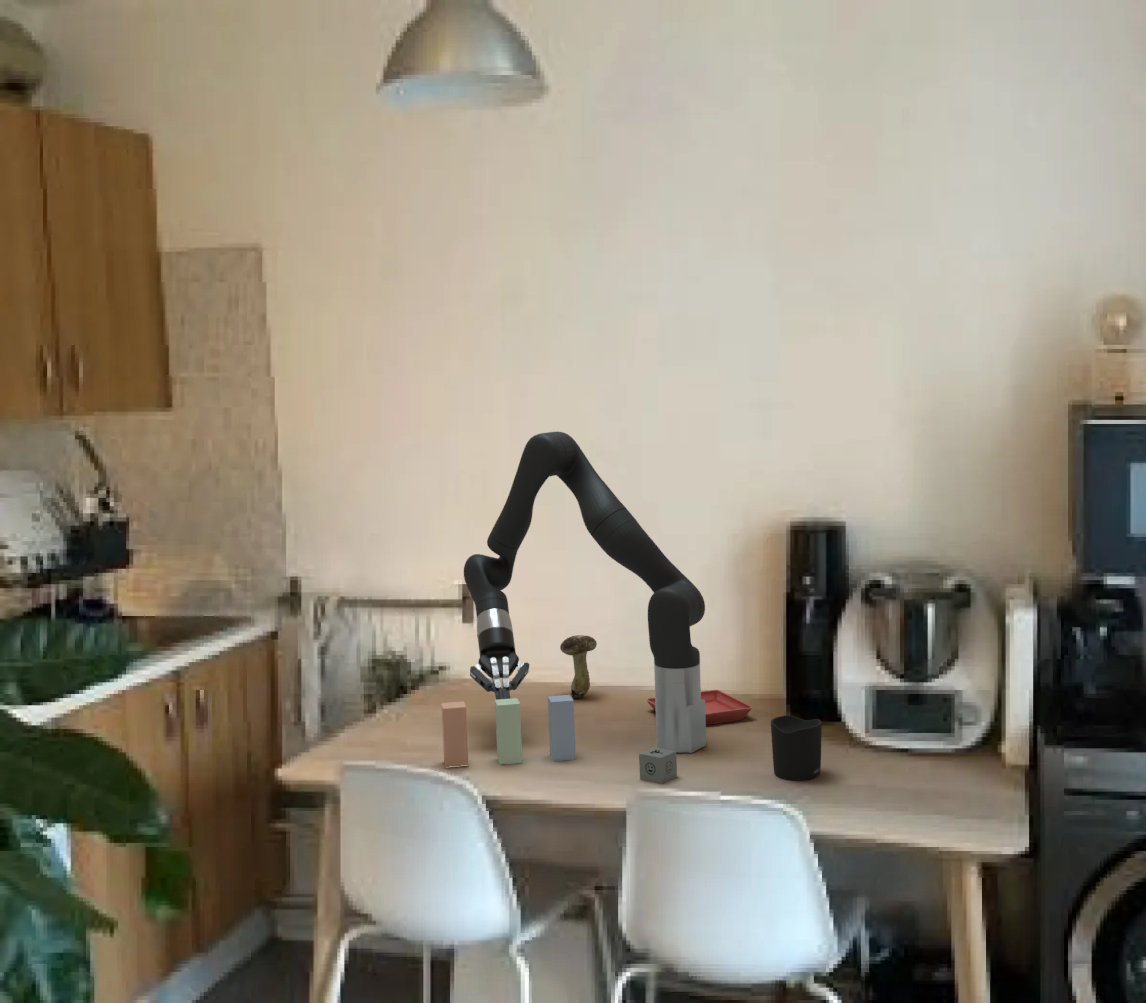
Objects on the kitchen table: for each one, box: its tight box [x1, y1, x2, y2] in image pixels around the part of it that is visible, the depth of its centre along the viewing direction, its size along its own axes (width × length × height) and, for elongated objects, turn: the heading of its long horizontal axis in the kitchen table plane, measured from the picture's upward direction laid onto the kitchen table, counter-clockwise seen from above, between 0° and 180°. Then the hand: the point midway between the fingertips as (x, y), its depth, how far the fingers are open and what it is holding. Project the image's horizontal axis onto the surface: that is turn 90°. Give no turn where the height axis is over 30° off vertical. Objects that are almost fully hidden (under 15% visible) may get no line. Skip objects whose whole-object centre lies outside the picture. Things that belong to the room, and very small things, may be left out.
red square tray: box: [646, 689, 753, 726], centre depth 283 cm, size 18×18×3 cm
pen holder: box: [770, 715, 823, 781], centre depth 240 cm, size 9×9×10 cm
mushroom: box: [559, 634, 598, 699], centre depth 300 cm, size 9×9×15 cm
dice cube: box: [638, 746, 678, 785], centre depth 241 cm, size 5×5×5 cm
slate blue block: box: [547, 694, 577, 762], centre depth 256 cm, size 4×4×12 cm
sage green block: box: [494, 697, 523, 765], centre depth 255 cm, size 4×4×12 cm
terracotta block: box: [440, 701, 469, 768], centre depth 254 cm, size 4×4×12 cm
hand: (504, 706), depth 260 cm, fingers closed
